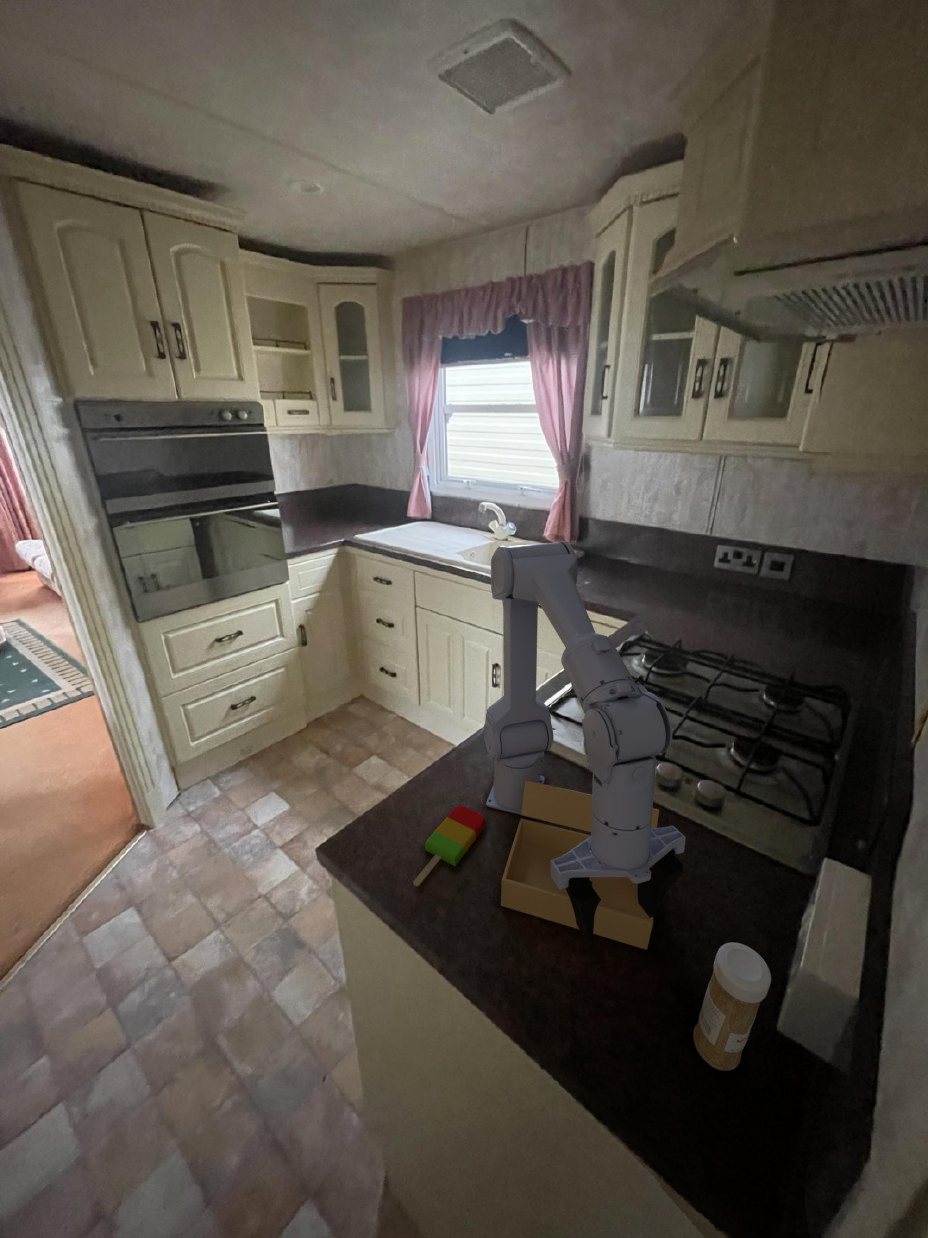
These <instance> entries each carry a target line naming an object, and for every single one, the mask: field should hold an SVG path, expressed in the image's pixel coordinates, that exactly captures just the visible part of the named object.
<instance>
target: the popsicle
mask: <svg viewBox="0 0 928 1238" xmlns="http://www.w3.org/2000/svg"><path fill="white" fill-rule="evenodd" d="M485 826H486V818H485V816H484V815H483V814H481V813H480V812H478V811H476V810H474V809H471V808H469V807H467V806H465V805H457V806H455V807H454V808H453V809H452V810H451V811H450V813H448V815H447V816H446V817H445V819H444V820H443V821H442V822H441V823H440V824H439V826H438V827H437V828H436V829H435V830H434V831H433V832H432V833H431V835H429V837H428V838H427V840H425V842H424V850H425V851H426V852H427V853H430V854H431V855H433V857H432V858H431V859H430V860H429V862H428V863H427V864H426V865H425V866H424V868H423V869H422V870H421V871H420V873H419V874H418V875H417V876H416V877H415V879H414V880H413V882H412V884H413V886H414V887H416V888H419V887H420V886H421V885H422V883H423V882H424V881H425V879H426V878H427V877H428V876H429V875H430V874H431V872H432V871H433V870H434V868H435V867H436V866H437V865H438V863H439V862H440V861H441V860H442V861H444V862H446V863H447V864H450V865H451V866H453V867H456V866H457V865H458V864H459V862H460V861H461V859H463V857H464V856H465V854H466V853H467V852H468V851H469V849H470V848H471V847H472V845H473V843H474V842H475V841H476V840H477V838H478V837H479V836H480V835H481V833H482V832H483V831H484V829H485Z"/></svg>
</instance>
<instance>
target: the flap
mask: <svg viewBox="0 0 928 1238" xmlns="http://www.w3.org/2000/svg"><path fill="white" fill-rule="evenodd" d="M659 815H660V809H658V808H654V807H653V810H652V824H651V828H658V823H659V817H660V816H659ZM520 816H522V817H523V816H524V817H527V818H530V819H531V818H532V819H535V820H539V821H544V822H548V823H552V824H556V825H560V826H564V827H568V828H572V829H576V830H581V831H585V832H587V833H588V832H589V833H591V816H592V793H588V792H587V793H586V792H582V791H577V790H572V789H570V788H569V789H568V788H564V787H559V786H555V785H551V784H546V783H544V784H542V782H541V783H538V782H533V781H529V780H525V788H524V796H523V804H522V813H521V815H520Z"/></svg>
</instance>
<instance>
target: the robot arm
mask: <svg viewBox="0 0 928 1238" xmlns="http://www.w3.org/2000/svg"><path fill="white" fill-rule="evenodd" d="M578 565H579V564H578V558H577V554H576V552H575V549H574V548H573V546H571V544H570V543H569V542H568V541H567V540H559V541H557V542H545V543H533V544H524V545H512V546H506V545H500V546H497V548H496V549H495V551H494V552H493V554H492V556H491V558H490V590H491V598H492V599H494V600H498V601H501V602H502V616H503V617H502V618H503V619H502V622H503V623H502V627H503V630H502V632H503V634H502V635H503V638H502V639H503V640H502V642H503V644H502V645H503V646H502V647H503V695H502V696H501V697H500V698H499V699H497V701H495V702H494V703H492V704H491V705H490V706H489V707H487V708H486V713H485V721H484V725H483V740H484V744H485V748H486V751H487V754H488V755H489V757H491V758H492V759H493V761H494V763H493V785H492V787H491V790H490V792H489V795H488V797H487V799H486V802H485V806H486V807H488V808H492V809H495V810H499V811H504V812H508V813H512V814H515V815H520V816H522V815H521V813H522V804H523V796H524V788H525V780H529V781H533V782H538V783H542V784H545V781H546V777H545V776H544V775H540V771H541V759H542V758H544V757H545V752H546V751H550V750H551V748H552V746H553V744H554V736H555V735H554V728H553V724H552V714H551V712H550V710H549V708H548V706H547V705H546V703H544V701H542V700H541V699H539V698H537V675H538V674H537V673H538V672H537V670H538V668H537V667H538V665H537V664H538V620H539V619H538V618H539V617H538V616H539V606H540V608H541V609H542V611H543V613H544V614H545V616H546V618H547V619H548V621H549V623H550V624H551V627H553V629H554V631H555V632H556V634H557V636H558V637H559V639H560V641H561V642H562V644H563V646H564V647H565V649H564V650H563V652H562V655H561V658H560V659H561V661H560V662H561V665H562V668H563V669H564V672H565V674H566V676H567V678H568V681H569V682H570V685H571V687H572V689H573V692H574V693H575V696H576V698H577V700H578V702H579V704H580V707H581V709H582V711H583V713H584V717H583V718H582V719H581V726H582V734H583V739H584V742H585V745H586V751H587V755H586V758H587V759H586V762H587V763H588V769H589V770H590V771H591V773H592V782H591V783H592V785H591V795H592V816H591V832H590V835H591V836H590V837H589V838H588V839H586V840H585V841H583V842H582V843H580V844H579V845H577V846H576V847H575V848H573V849H572V850H570V851H569V852H567V853H566V854H564V855H563V856H561V857H558V858H556V859H553V860H551V877H552V879H553V881H554V882H555V884H556V885H557V887H558V888H559V890H561V889H564V888H565V889H566V891H567V893H568V896H569V898H570V901H571V903H572V907H573V910H574V914H575V918H576V924H577V926H578V928H579V929H578V930H579V931H580V933H581V934H582V936H583V937H584V939H585V940H588V939H591V938H593V937H594V936H593V935H594V934H593V932H594V916H595V912H596V909H597V906H598V904H599V902H600V901H601V898H600V897H599V895H598V894H597V893H596V891H595V890H594V888H593V887H592V881H590V879H589V877H627V878H629V879H630V880H631V881H632V882H633V883H635V884H638V891H637V895H638V904H639V905H640V906H641V907H642V909H643V910H644V911H645V912H646V914H647V915H648V916H649V917H650V918H651V917H653V918H655V916H656V915H657V913H658V911H659V908H660V905H661V904H662V902H663V899H664V898H665V896H666V894H667V893H668V891H669V889H670V888H671V887H672V886H673V884H674V883H676V881H677V880H678V879H679V878H681V877H682V876H683V875H684V864H683V863H682V862H681V861H680V860H679V859H678V858H677V856H675V855H679V854H683V853H685V848H686V847H685V846H686V837H687V836H685V835H684V834H683V833H681V831H680V830H679V829H678V828H677V827H675V826H674V825H669V826H665V827H657V828H651V824H652V810H653V808H654V794H655V781H656V766H657V757H656V756H659V755H660V754H665V753H666V752H668V751H669V749H670V747H671V745H672V741H673V727H672V722H671V719H670V715H669V713H668V711H667V709H666V707H665V705H664V702H663V701H662V699H660V697H658V696H657V695H656V694H655V693H653V692H649V690H648V689H647V688H646V686H645V685H642V684H637V683H636V682H635V680H634V678H633V676H632V674H631V672H630V671H629V669H628V667H627V665H626V664H625V662H624V660H623V658H622V656H621V655H620V653H619V651H618V649H617V648H616V645H615V644H614V642H613V640H612V638H610V637H609V636H607V635H604V634H600V633H596V630H595V628H594V626H593V623H592V621H591V618H590V616H589V613H588V611H587V609H586V607H585V604H584V601H583V599H582V597H581V595H580V592H579V589H578V587H577V582H578V574H579V568H578V567H579V566H578Z"/></svg>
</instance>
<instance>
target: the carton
mask: <svg viewBox="0 0 928 1238" xmlns="http://www.w3.org/2000/svg"><path fill="white" fill-rule="evenodd" d="M590 836H591V834H587V833H582V832H579V831H574V830H571V829H566V828H562V827H559V826H554V825H551V824H546V823H542V822H538V821H534V820H531V819H526V818H522V817H521V818H520V820H519V823H518V826H517V829H516V832H515V836H514V839H513V842H512V844H511V845H512V846H511V849H510V852H509V855H508V859H507V861H506V865H505V867H504V872H503V875H502V878H501V887H500V888H501V889H500V891H501V893H500V906H501V907H504V908H507V909H510V910H513V911H517V912H519V913H523V914H527V915H530V916H533V917H537V918H540V919H544V920H547V921H549V922H553V923H557V924H560V925H563V926H567V927H570V928H573V929H577V930H580V929H579V928H578V926H577V924H576V918H575V914H574V910H573V907H572V903H571V901H570V898H569V896H568V893H567V891H566V889H565V888H564V889H561V890H559V888H558V887H557V885H556V884H555V882H554V881H553V879H552V877H551V860H553V859H556V858H558V857H561V856H563V855H564V854H566V853H567V852H569V851H570V850H572V849H573V848H575V847H576V846H577V845H579V844H580V843H582V842H583V841H585V840H586V839H588V838H589V837H590ZM589 879H590V881H592V887H593V888H594V890H595V891H596V893H597V894H598V895H599V897H600V898H601V901H600V902H599V904H598V906H597V909H596V912H595V916H594V932H593V935H596V936H600V937H603V938H607V939H610V940H612V941H616V942H620V943H622V944H626V945H629V946H632V947H636V948H639V949H643V950H646V951H648V949H649V943H650V939H651V935H652V930H653V925H654V917H651V918H650V917H649V916H648V915H647V914H646V912H645V911H644V910H643V909H642V907H641V906H640V905H639V904H638V895H637V891H638V884H635V883H633V882H632V881H631V880H630V879H629V878H627V877H589Z"/></svg>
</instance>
